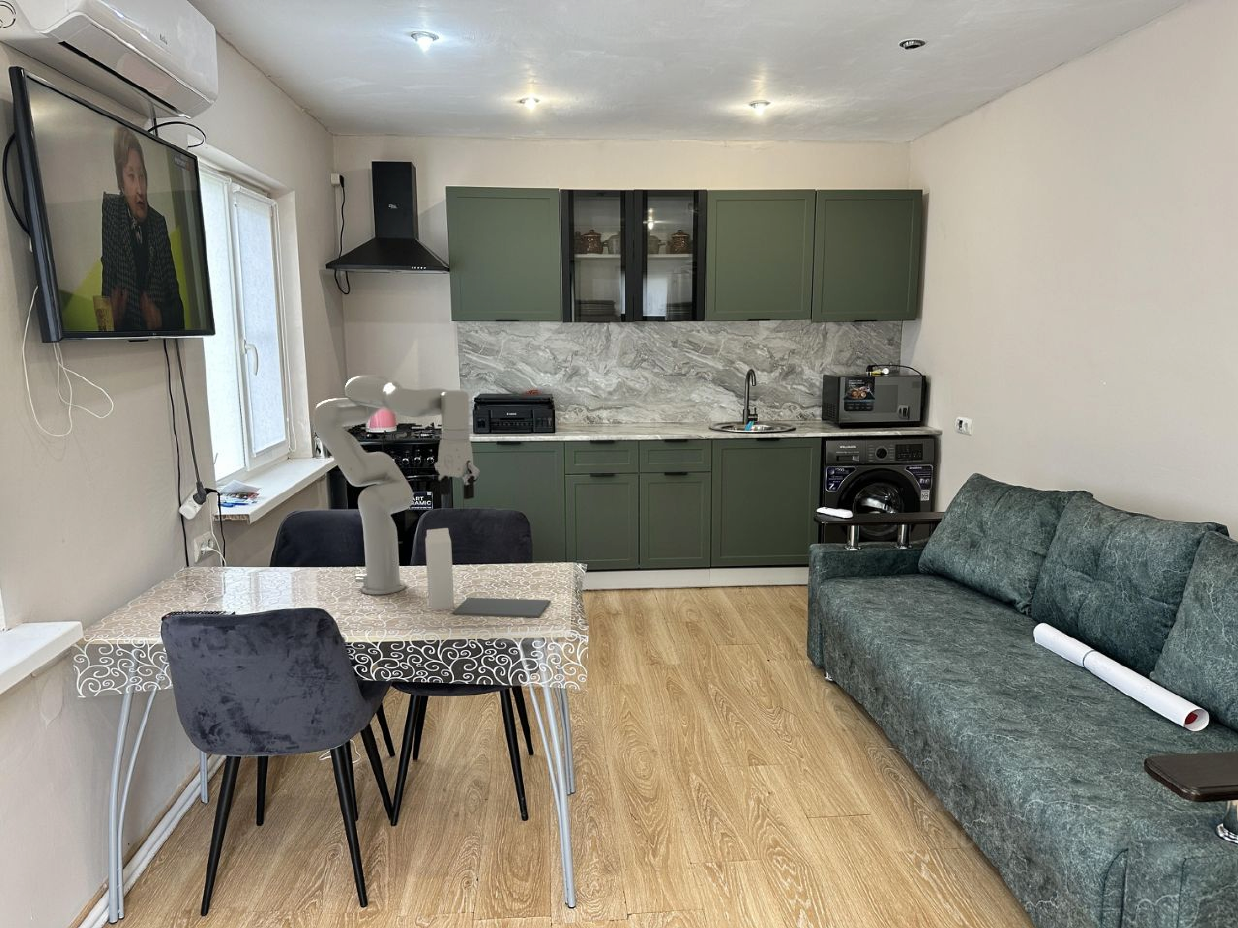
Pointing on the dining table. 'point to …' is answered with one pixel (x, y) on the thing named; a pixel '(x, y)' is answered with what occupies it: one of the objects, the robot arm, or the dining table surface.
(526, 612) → the mat
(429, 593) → the milk
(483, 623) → the dining table surface
